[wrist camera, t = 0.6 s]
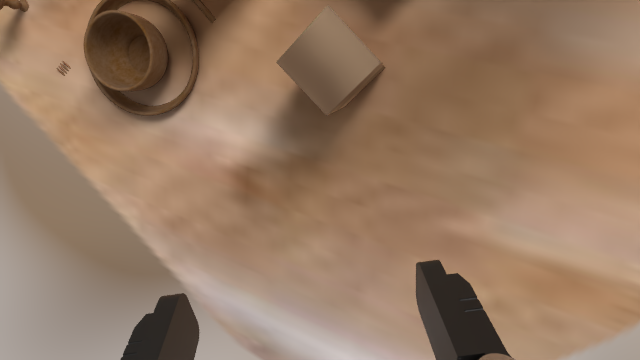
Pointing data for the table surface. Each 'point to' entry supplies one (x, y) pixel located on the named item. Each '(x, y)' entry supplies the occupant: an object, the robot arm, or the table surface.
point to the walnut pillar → (330, 62)
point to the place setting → (128, 52)
